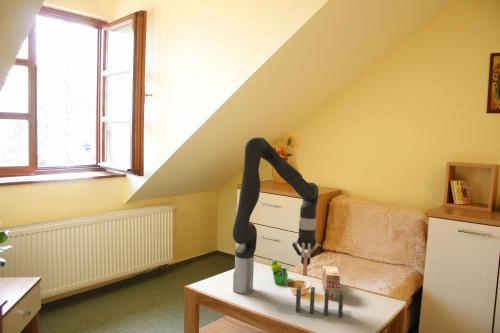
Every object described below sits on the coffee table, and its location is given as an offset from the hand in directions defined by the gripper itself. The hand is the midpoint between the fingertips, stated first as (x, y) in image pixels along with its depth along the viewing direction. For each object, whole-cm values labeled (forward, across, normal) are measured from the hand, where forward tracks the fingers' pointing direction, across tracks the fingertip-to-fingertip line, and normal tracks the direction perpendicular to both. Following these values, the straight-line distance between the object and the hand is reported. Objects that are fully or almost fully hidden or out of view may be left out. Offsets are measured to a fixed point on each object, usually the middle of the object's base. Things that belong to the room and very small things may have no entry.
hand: (305, 264), depth 177 cm
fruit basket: (+19, -15, +24) cm, 34 cm away
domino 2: (+4, 0, -2) cm, 5 cm away
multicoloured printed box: (+19, +12, +18) cm, 28 cm away
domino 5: (+18, +16, -8) cm, 25 cm away
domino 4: (+18, +10, -8) cm, 22 cm away
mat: (+18, +5, -8) cm, 20 cm away
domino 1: (+18, -2, -8) cm, 20 cm away
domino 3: (+18, +4, -8) cm, 20 cm away
